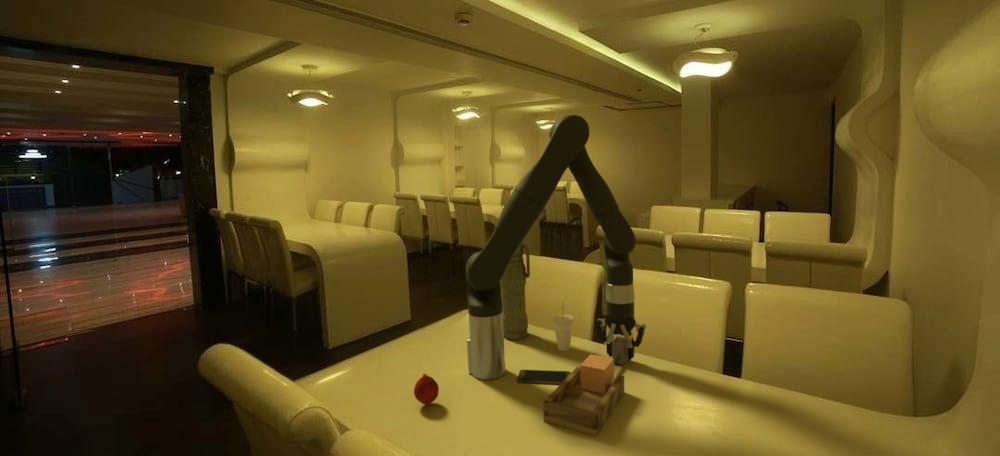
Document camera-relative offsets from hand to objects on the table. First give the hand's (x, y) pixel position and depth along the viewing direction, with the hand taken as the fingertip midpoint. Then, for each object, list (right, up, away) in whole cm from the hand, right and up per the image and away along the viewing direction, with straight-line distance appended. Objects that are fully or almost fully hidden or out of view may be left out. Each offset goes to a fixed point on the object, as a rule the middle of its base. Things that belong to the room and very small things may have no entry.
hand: (620, 357), depth 128 cm
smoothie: (-14, -1, +11) cm, 18 cm away
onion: (-51, -6, -18) cm, 55 cm away
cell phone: (-22, -4, -7) cm, 24 cm away
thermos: (-29, 0, +24) cm, 37 cm away
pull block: (-5, -2, -8) cm, 10 cm away
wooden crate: (-14, -5, -23) cm, 27 cm away
